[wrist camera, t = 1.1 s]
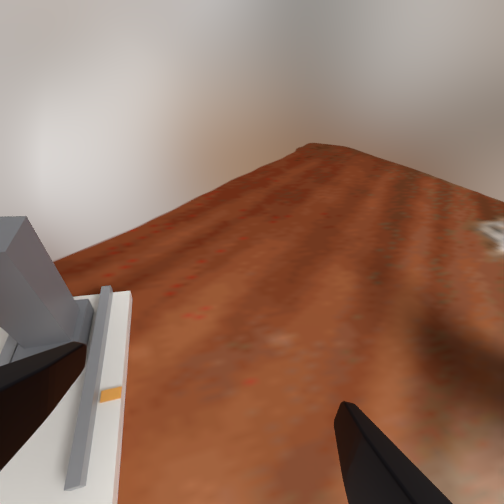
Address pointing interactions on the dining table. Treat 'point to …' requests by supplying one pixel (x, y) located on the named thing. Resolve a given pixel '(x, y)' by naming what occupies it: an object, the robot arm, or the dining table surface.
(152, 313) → the dining table surface
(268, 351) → the dining table surface
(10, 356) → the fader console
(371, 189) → the dining table surface
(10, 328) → the fader tab
